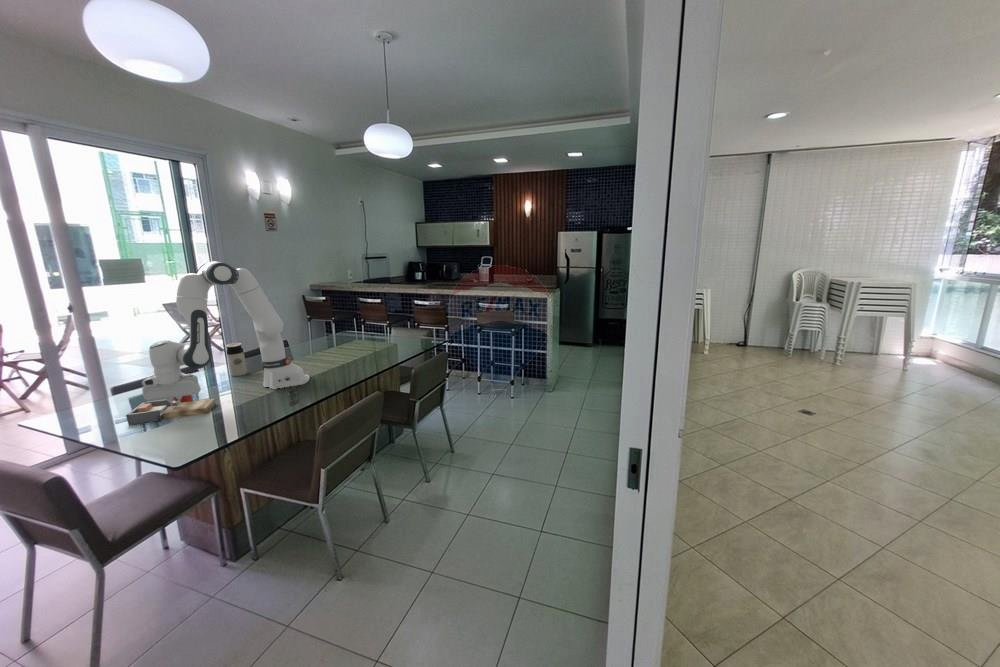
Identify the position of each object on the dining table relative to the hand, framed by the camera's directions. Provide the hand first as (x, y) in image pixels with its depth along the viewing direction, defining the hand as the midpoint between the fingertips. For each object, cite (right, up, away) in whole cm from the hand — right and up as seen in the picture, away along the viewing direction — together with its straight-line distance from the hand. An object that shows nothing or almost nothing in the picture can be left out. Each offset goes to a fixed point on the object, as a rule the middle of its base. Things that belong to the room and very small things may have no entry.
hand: (176, 405), depth 174 cm
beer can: (-6, -1, +11) cm, 12 cm away
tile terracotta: (-9, -2, -3) cm, 10 cm away
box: (-9, -5, -2) cm, 10 cm away
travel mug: (-5, +9, +50) cm, 51 cm away
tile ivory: (-7, -4, -2) cm, 8 cm away
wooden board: (+5, -3, +2) cm, 6 cm away
